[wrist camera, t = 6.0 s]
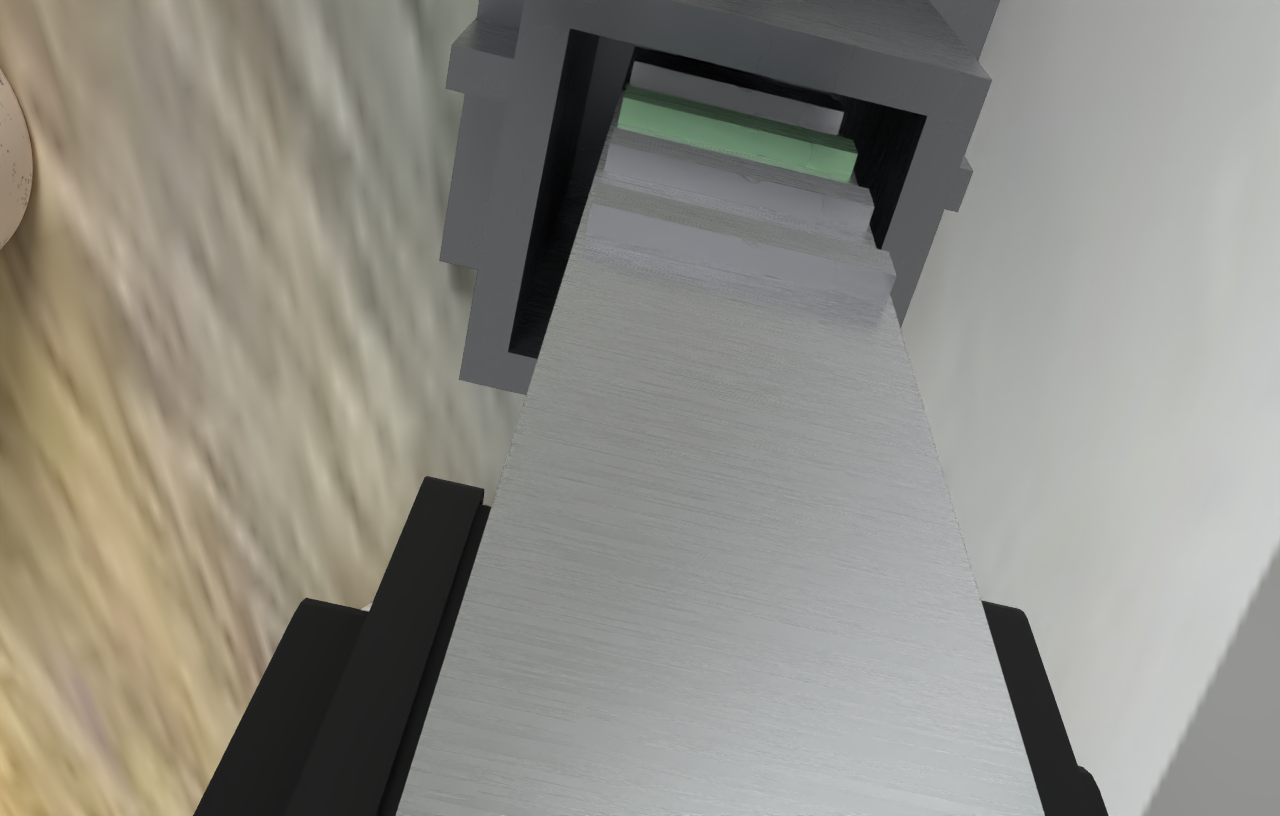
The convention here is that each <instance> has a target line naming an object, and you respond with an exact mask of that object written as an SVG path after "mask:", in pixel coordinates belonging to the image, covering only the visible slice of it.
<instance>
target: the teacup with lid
mask: <svg viewBox="0 0 1280 816" xmlns="http://www.w3.org/2000/svg"><path fill="white" fill-rule="evenodd" d="M32 176H33V160H32V150H31V143H30V138H29V133H28V129H27V126H26V122H25V119H24V115H23V113H22V110H21V108H20V105H19V103H18V100H17V98H16V96H15V94H14V92H13V90H12V88H11V86H10V84H9V82H8V81H7V79H6V77H5V75H4V74H3V72H2V70H1V69H0V249H1V248H2V247H3V246H4V245H5V244H6V243H7V242H8V241H9V239H10V238H11V237H12V235H13V234H14V232H15V231H16V229H17V228H18V226H19V224H20V222H21V220H22V218H23V216H24V213H25V210H26V208H27V205H28V201H29V196H30V192H31V185H32Z"/></svg>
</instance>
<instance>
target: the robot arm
mask: <svg viewBox="0 0 1280 816" xmlns="http://www.w3.org/2000/svg"><path fill="white" fill-rule="evenodd" d="M483 498H484V489H482V488H478V487H473V486H469V485H464V484H460V483H455V482H451V481H446V480H442V479H437V478H433V477H428V476H426V477H425V478H424V481H423V483H422V485H421V487H420V490H419V492H418V494H417V497H416V499H415V502H414V504H413V506H412V509H411V511H410V514H409V516H408V519H407V521H406V523H405V526H404V528H403V531H402V533H401V535H400V538H399V540H398V543H397V545H396V547H395V550H394V552H393V555H392V557H391V560H390V562H389V564H388V567H387V569H386V572H385V574H384V576H383V579H382V581H381V584H380V586H379V588H378V591H377V593H376V596H375V598H374V601H373V603H372V605H371V608H370V610H369V611H364V610H360V609H355V608H351V607H346V606H342V605H337V604H332V603H328V602H323V601H319V600H314V599H309V598H305V599H304V600H303V601H302V602H301V603H300V605H299V606H298V608H297V610H296V611H295V613H294V615H293V617H292V619H291V621H290V623H289V625H288V627H287V629H286V631H285V633H284V635H283V637H282V639H281V641H280V643H279V645H278V647H277V649H276V651H275V653H274V655H273V657H272V659H271V661H270V663H269V665H268V667H267V669H266V671H265V673H264V675H263V677H262V679H261V681H260V683H259V685H258V687H257V689H256V691H255V693H254V695H253V697H252V699H251V701H250V703H249V705H248V707H247V709H246V711H245V713H244V715H243V717H242V719H241V721H240V723H239V725H238V727H237V729H236V731H235V733H234V735H233V737H232V739H231V741H230V743H229V745H228V747H227V749H226V751H225V753H224V755H223V757H222V759H221V761H220V763H219V765H218V767H217V769H216V771H215V773H214V775H213V777H212V779H211V781H210V783H209V785H208V787H207V789H206V791H205V793H204V795H203V797H202V799H201V801H200V803H199V805H198V807H197V809H196V811H195V813H194V815H193V816H396V813H397V810H398V806H399V803H400V800H401V797H402V793H403V790H404V787H405V784H406V781H407V777H408V774H409V771H410V768H411V765H412V761H413V758H414V755H415V752H416V748H417V745H418V742H419V739H420V736H421V732H422V729H423V726H424V723H425V720H426V716H427V713H428V710H429V707H430V704H431V700H432V697H433V694H434V691H435V687H436V684H437V681H438V678H439V675H440V671H441V668H442V665H443V662H444V659H445V655H446V652H447V649H448V646H449V642H450V639H451V636H452V633H453V630H454V626H455V623H456V620H457V617H458V614H459V610H460V607H461V604H462V601H463V597H464V594H465V591H466V588H467V585H468V581H469V578H470V575H471V572H472V569H473V565H474V562H475V559H476V556H477V552H478V549H479V546H480V543H481V540H482V536H483V533H484V530H485V527H486V524H487V520H488V517H489V514H490V511H491V507H490V506H486V505H482V504H483ZM981 602H982V605H983V609H984V612H985V616H986V619H987V622H988V626H989V629H990V632H991V636H992V639H993V642H994V646H995V649H996V653H997V656H998V659H999V663H1000V666H1001V669H1002V673H1003V676H1004V680H1005V683H1006V686H1007V690H1008V693H1009V696H1010V700H1011V703H1012V706H1013V710H1014V713H1015V717H1016V720H1017V723H1018V727H1019V730H1020V733H1021V737H1022V740H1023V744H1024V747H1025V750H1026V754H1027V757H1028V760H1029V764H1030V767H1031V771H1032V774H1033V777H1034V781H1035V784H1036V787H1037V791H1038V794H1039V797H1040V801H1041V804H1042V808H1043V811H1044V814H1045V816H1108V813H1107V810H1106V807H1105V805H1104V802H1103V799H1102V796H1101V793H1100V790H1099V788H1098V786H1097V784H1096V782H1095V780H1094V778H1093V776H1092V775H1091V774H1090V773H1089V772H1088V771H1087V770H1085V769H1084V768H1083V767H1080V766H1078V765H1077V762H1076V759H1075V756H1074V753H1073V751H1072V748H1071V745H1070V742H1069V739H1068V736H1067V733H1066V730H1065V727H1064V724H1063V721H1062V718H1061V715H1060V712H1059V710H1058V707H1057V704H1056V701H1055V698H1054V695H1053V692H1052V689H1051V686H1050V683H1049V680H1048V677H1047V674H1046V671H1045V669H1044V666H1043V663H1042V660H1041V657H1040V654H1039V651H1038V648H1037V645H1036V642H1035V639H1034V636H1033V633H1032V630H1031V628H1030V625H1029V622H1028V619H1027V617H1026V615H1025V613H1024V612H1023V611H1021V610H1020V609H1017V608H1013V607H1008V606H1004V605H999V604H995V603H990V602H986V601H981Z"/></svg>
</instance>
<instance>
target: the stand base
mask: <svg viewBox="0 0 1280 816" xmlns="http://www.w3.org/2000/svg"><path fill="white" fill-rule="evenodd" d="M999 1H1000V0H479V7H478V13H477V18H476V19H475V20H474V21H473V22H472V23H471V24H470V26H469V27H468V28H467V29H466V30H465V31H464V32H463V33H462V34H461V35H460V36H459V37H458V38H457V40H456V41H455V42H454V43H453V44H452V48H451V55H450V62H449V68H448V75H447V82H446V89H450V90H454V91H458V92H462V93H465V97H464V104H463V110H462V117H461V123H460V130H459V136H458V143H457V149H456V156H455V162H454V169H453V175H452V182H451V188H450V195H449V201H448V208H447V214H446V221H445V227H444V234H443V240H442V247H441V253H440V260H439V261H443V262H447V263H451V264H455V265H460V266H464V267H468V268H472V269H477V270H478V272H477V278H476V284H475V290H474V296H473V301H472V307H471V313H470V319H469V325H468V330H467V336H466V342H465V348H464V354H463V360H462V365H461V371H460V377H459V380H463V381H467V382H472V383H476V384H480V385H485V386H489V387H493V388H498V389H502V390H506V391H511V392H515V393H520V394H524V395H527V392H528V389H529V385H530V382H531V379H532V376H533V373H534V369H535V366H536V363H537V360H538V356H539V353H540V350H541V347H542V344H543V340H544V337H545V334H546V331H547V328H548V324H549V321H550V318H551V315H552V311H553V308H554V305H555V302H556V299H557V295H558V292H559V289H560V286H561V283H562V279H563V276H564V273H565V270H566V267H567V263H568V260H569V257H570V254H571V250H572V247H573V244H574V241H575V238H576V234H577V231H578V228H579V225H580V222H581V218H582V215H583V212H584V209H585V205H586V202H587V199H588V196H589V193H590V189H591V186H592V183H593V180H594V177H595V173H596V170H597V167H598V164H599V160H600V157H601V154H602V151H603V148H604V144H605V141H606V138H607V135H608V132H609V128H610V125H611V122H612V119H613V115H614V112H615V109H616V106H617V103H618V99H619V96H620V93H621V90H622V87H623V83H624V80H625V77H626V74H627V70H628V67H629V64H630V61H631V58H632V54H633V51H634V48H635V46H636V47H640V48H644V49H648V50H652V51H656V52H660V53H664V54H668V55H673V56H677V57H681V58H685V59H689V60H693V61H697V62H701V63H705V64H709V65H713V66H717V67H721V68H726V69H730V70H734V71H738V72H742V73H746V74H750V75H754V76H758V77H762V78H766V79H770V80H774V81H779V82H783V83H787V84H791V85H795V86H799V87H803V88H807V89H811V90H815V91H819V92H823V93H827V94H831V97H832V99H836V100H840V101H841V103H842V106H843V110H844V115H843V118H842V122H841V125H840V127H841V130H842V134H843V137H844V138H848V139H852V140H853V141H854V144H855V147H856V150H857V153H858V155H857V158H856V161H855V164H854V167H853V171H854V174H855V177H856V181H857V184H858V186H860V187H864V188H868V189H869V191H870V194H871V197H872V200H873V204H874V210H873V213H872V216H871V219H870V222H869V225H870V228H871V231H872V235H873V238H874V242H875V245H876V248H877V249H880V250H885V251H889V254H890V257H891V260H892V263H893V266H894V269H895V272H896V278H895V281H894V284H893V287H892V290H891V292H890V295H891V299H892V302H893V306H894V309H895V312H896V316H897V319H898V322H899V326H900V328H901V326H902V323H903V320H904V317H905V315H906V312H907V309H908V307H909V304H910V301H911V298H912V296H913V293H914V290H915V288H916V285H917V282H918V279H919V277H920V274H921V271H922V269H923V266H924V263H925V260H926V258H927V255H928V252H929V250H930V247H931V244H932V241H933V239H934V236H935V233H936V230H937V228H938V225H939V222H940V220H941V217H942V214H943V211H944V209H947V210H951V211H955V212H958V210H959V208H960V205H961V202H962V200H963V197H964V194H965V192H966V189H967V186H968V184H969V181H970V178H971V176H972V173H973V170H972V168H971V167H970V165H969V163H968V161H967V160H966V158H965V156H964V154H965V152H966V149H967V146H968V144H969V141H970V138H971V135H972V133H973V130H974V127H975V125H976V122H977V119H978V116H979V114H980V111H981V108H982V106H983V103H984V100H985V97H986V95H987V92H988V89H989V87H990V84H991V81H992V79H991V78H990V77H989V75H988V74H987V73H986V72H985V70H984V69H983V68H982V67H981V65H980V64H979V63H978V59H979V56H980V54H981V51H982V48H983V45H984V43H985V40H986V37H987V34H988V31H989V29H990V26H991V23H992V20H993V18H994V15H995V12H996V9H997V6H998V4H999Z"/></svg>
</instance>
